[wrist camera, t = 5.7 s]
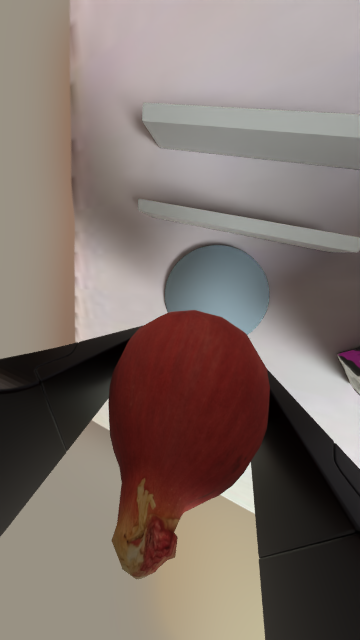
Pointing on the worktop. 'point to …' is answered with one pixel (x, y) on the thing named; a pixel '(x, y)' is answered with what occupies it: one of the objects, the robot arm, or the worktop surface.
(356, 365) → the candy bar box
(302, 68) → the worktop surface
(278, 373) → the worktop surface
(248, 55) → the worktop surface
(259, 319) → the mat
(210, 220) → the low walls
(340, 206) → the worktop surface
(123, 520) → the onion
